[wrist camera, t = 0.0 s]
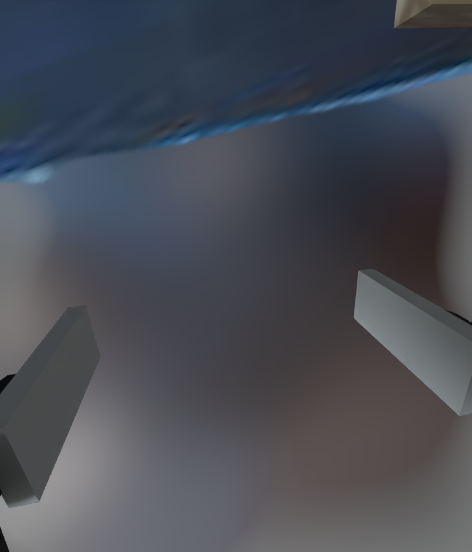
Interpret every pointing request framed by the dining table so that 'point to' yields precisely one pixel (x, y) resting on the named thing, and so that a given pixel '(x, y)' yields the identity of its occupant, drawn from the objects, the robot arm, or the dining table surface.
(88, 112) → the dining table surface
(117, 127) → the dining table surface
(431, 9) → the birch block
